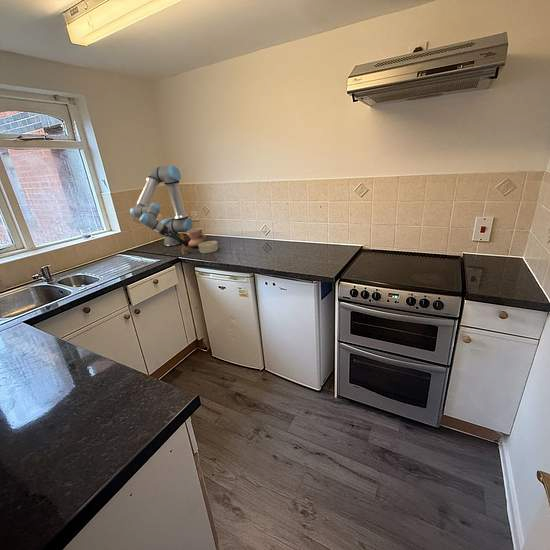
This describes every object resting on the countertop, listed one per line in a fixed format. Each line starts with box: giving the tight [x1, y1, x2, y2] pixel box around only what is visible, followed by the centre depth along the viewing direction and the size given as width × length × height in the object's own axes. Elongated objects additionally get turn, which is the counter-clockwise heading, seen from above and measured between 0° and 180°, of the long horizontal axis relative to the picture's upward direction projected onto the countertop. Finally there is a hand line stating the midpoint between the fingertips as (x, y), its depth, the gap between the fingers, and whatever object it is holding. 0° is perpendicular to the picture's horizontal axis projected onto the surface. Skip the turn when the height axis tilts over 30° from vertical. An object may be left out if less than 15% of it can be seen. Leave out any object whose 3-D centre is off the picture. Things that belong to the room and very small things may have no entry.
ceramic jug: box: [186, 227, 207, 249], centre depth 246 cm, size 18×14×14 cm
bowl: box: [197, 240, 219, 255], centre depth 231 cm, size 15×15×6 cm
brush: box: [179, 232, 190, 255], centre depth 230 cm, size 5×5×16 cm
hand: (185, 243), depth 231 cm, fingers open, 13 cm apart
